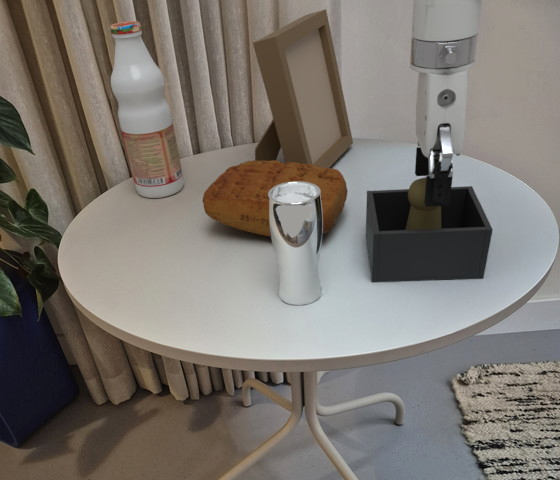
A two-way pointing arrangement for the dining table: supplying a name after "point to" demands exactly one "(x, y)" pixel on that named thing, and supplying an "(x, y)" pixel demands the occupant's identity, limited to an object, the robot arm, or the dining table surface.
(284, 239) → the beer glass
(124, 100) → the fruit juice
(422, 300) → the dining table surface
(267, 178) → the clay tablet
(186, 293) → the dining table surface
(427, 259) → the basket
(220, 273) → the dining table surface
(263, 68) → the photo frame
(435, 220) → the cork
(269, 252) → the dining table surface
